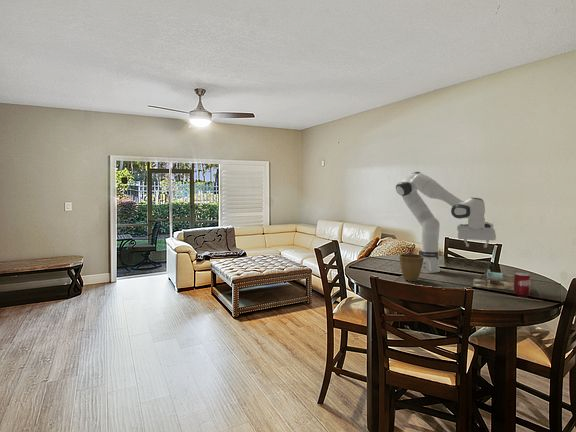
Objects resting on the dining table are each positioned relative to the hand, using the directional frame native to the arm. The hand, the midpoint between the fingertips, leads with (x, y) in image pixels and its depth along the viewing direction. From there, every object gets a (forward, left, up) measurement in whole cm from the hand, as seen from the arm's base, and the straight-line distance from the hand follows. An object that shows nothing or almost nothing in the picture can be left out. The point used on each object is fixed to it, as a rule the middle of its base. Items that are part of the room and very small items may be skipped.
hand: (476, 247), depth 204 cm
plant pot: (-36, -8, -23) cm, 44 cm away
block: (+10, -1, -22) cm, 24 cm away
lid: (+10, -1, -17) cm, 19 cm away
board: (+11, -1, -23) cm, 25 cm away
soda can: (+22, -16, -23) cm, 35 cm away
